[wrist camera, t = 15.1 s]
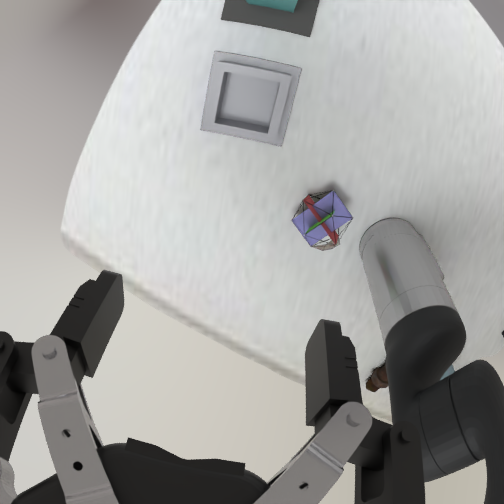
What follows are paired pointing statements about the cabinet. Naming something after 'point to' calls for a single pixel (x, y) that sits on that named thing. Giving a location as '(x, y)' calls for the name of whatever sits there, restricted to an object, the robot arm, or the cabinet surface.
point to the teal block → (276, 4)
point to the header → (249, 97)
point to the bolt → (378, 379)
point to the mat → (273, 15)
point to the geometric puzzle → (322, 220)
